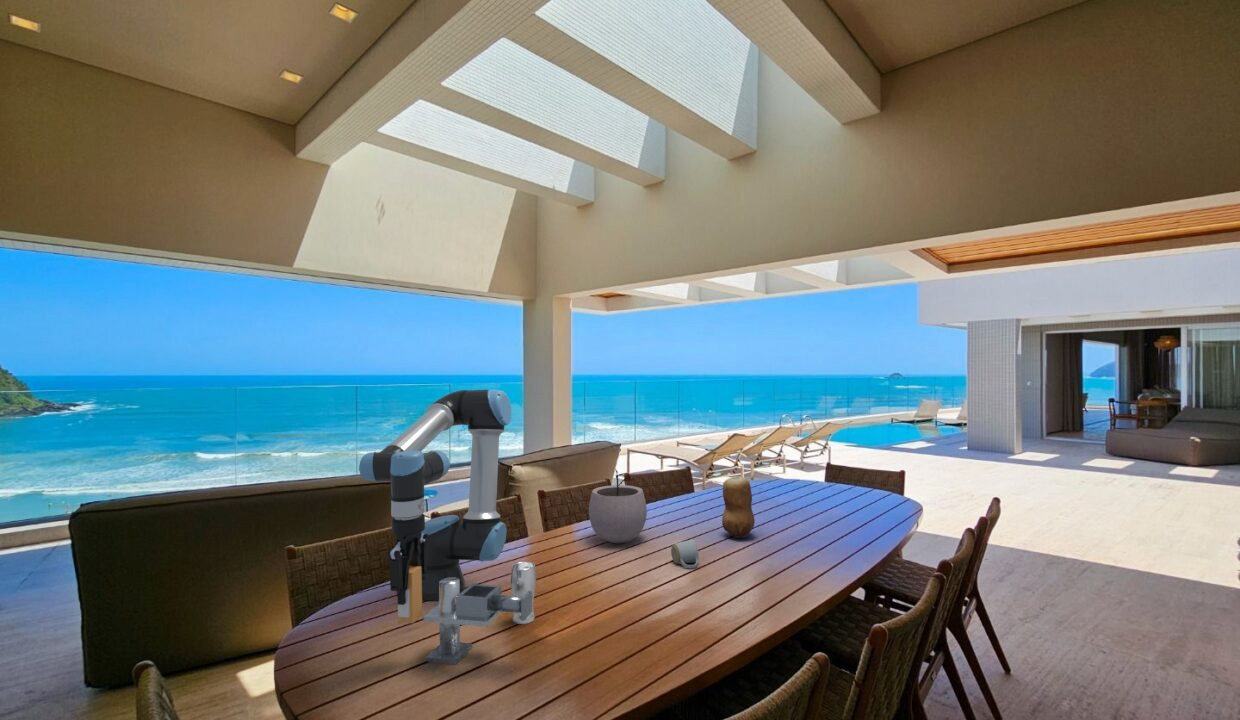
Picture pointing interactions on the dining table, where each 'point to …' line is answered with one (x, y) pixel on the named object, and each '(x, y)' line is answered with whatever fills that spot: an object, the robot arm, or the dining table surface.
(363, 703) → the dining table surface
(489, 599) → the bracket
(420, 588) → the tan wooden block
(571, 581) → the dining table surface
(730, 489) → the butternut squash
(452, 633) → the metal pedestal stand
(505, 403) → the robot arm
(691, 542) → the ceramic mug
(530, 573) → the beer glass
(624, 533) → the plant pot
